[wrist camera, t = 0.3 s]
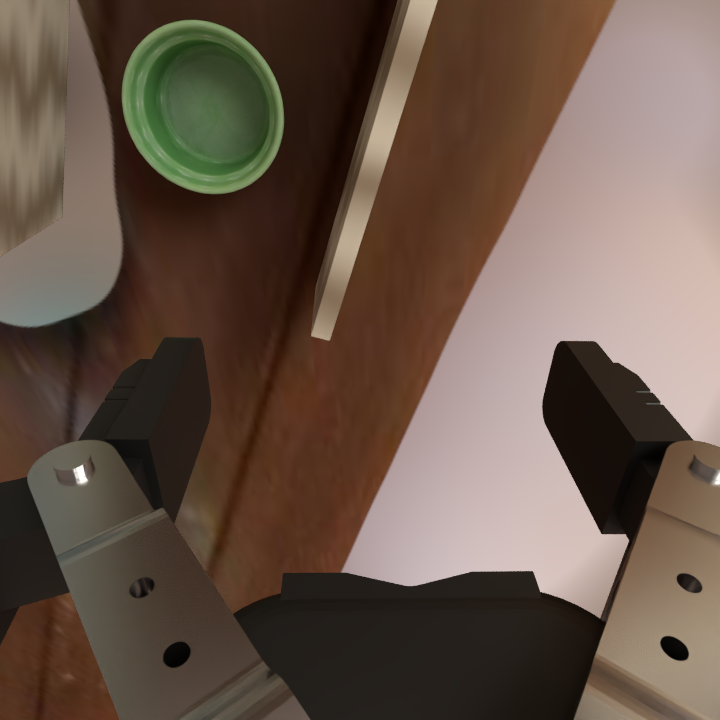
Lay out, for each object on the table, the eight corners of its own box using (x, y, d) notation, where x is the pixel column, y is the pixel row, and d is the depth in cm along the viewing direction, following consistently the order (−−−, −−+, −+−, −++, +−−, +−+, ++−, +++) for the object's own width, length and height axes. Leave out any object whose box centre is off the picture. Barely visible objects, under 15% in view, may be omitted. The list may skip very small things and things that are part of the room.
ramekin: (313, 146, 36) (309, 159, 32) (193, 200, 37) (176, 217, 33) (248, -6, 31) (235, -12, 28) (115, 61, 33) (86, 64, 29)
